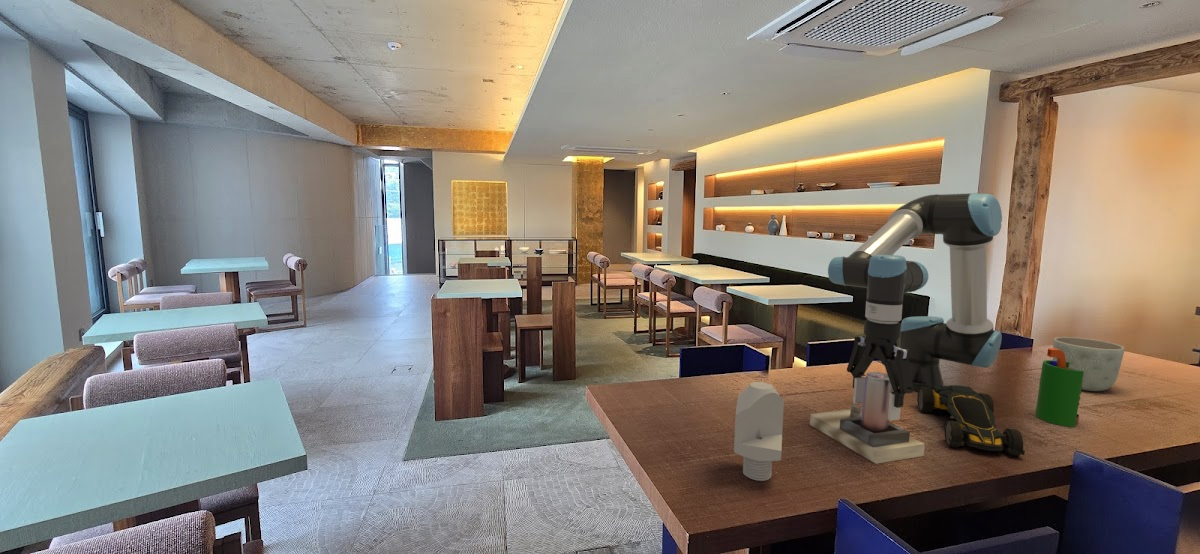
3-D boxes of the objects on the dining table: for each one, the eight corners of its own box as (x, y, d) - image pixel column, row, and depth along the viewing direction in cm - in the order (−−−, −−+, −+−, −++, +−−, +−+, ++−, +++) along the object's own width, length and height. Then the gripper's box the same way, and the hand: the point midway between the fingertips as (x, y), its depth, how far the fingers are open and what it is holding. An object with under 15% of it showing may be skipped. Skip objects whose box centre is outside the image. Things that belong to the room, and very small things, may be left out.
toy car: (982, 414, 144) (985, 380, 142) (1030, 464, 114) (1035, 422, 113) (915, 405, 149) (918, 373, 148) (945, 451, 120) (949, 412, 119)
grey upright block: (732, 480, 105) (736, 389, 103) (737, 460, 114) (740, 376, 111) (779, 489, 102) (784, 395, 99) (780, 468, 111) (785, 381, 108)
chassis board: (809, 424, 134) (811, 403, 133) (852, 419, 138) (853, 398, 137) (875, 463, 113) (877, 438, 112) (923, 456, 117) (925, 431, 116)
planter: (1109, 384, 169) (1115, 341, 167) (1126, 400, 155) (1133, 352, 153) (1043, 375, 178) (1048, 334, 176) (1054, 389, 164) (1059, 344, 162)
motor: (1089, 428, 134) (1099, 356, 131) (1050, 425, 135) (1059, 353, 133) (1062, 413, 143) (1071, 346, 141) (1026, 411, 145) (1034, 344, 143)
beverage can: (854, 429, 124) (860, 371, 122) (877, 429, 124) (883, 371, 122) (869, 440, 118) (875, 380, 116) (892, 440, 118) (900, 380, 116)
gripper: (834, 312, 127) (829, 396, 130) (911, 332, 106) (902, 431, 109) (858, 310, 129) (852, 393, 132) (938, 330, 108) (929, 428, 111)
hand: (875, 410), depth 120 cm, fingers open, 10 cm apart
